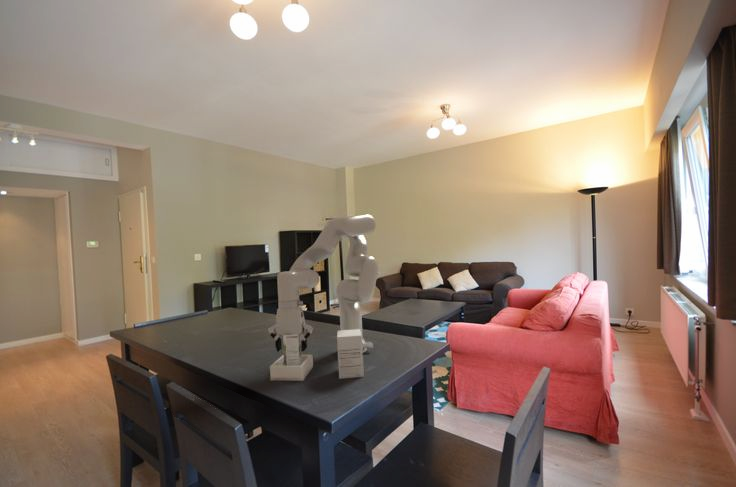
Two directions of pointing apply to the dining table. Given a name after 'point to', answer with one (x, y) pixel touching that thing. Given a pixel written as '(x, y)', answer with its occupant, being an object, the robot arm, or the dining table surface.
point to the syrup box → (292, 349)
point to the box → (291, 369)
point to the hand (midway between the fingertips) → (291, 350)
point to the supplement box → (350, 353)
